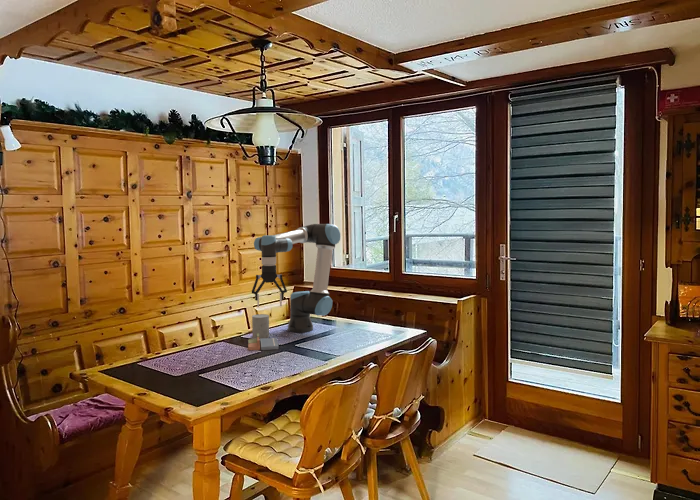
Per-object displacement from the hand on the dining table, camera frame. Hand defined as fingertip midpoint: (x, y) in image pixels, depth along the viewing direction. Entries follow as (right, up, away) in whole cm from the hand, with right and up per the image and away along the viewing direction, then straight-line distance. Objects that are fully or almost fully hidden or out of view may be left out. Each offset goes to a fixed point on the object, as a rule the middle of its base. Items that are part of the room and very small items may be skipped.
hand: (269, 306), depth 285 cm
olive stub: (-10, -21, +9) cm, 25 cm away
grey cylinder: (-9, -20, +24) cm, 33 cm away
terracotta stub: (-8, -22, 0) cm, 24 cm away
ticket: (-1, -22, +6) cm, 22 cm away
